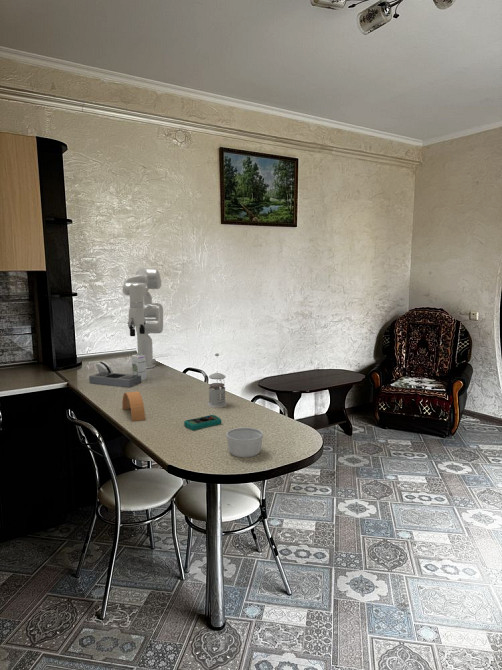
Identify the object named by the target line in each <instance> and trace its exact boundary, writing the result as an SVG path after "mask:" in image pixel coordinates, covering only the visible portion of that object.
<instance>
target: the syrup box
mask: <svg viewBox="0 0 502 670" xmlns="http://www.w3.org/2000/svg"><path fill="white" fill-rule="evenodd" d="M131 361H132V365H131V366H132V375H140V376H141V381H145V380H147V371H146V370H147V368H146V361H145V355H141V354H138V353H137V354H136V353H135V354H133V355H131Z"/></svg>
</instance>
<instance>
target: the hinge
mask: <svg viewBox="0 0 502 670" xmlns="http://www.w3.org/2000/svg"><path fill="white" fill-rule="evenodd" d="M95 365H96V369H97V371H98V373H101V372H109V373H114V371H113V369H112V367H111V365H110V364H108V362H106V361H100V362H97V364H95Z"/></svg>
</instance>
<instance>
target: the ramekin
mask: <svg viewBox="0 0 502 670" xmlns="http://www.w3.org/2000/svg"><path fill="white" fill-rule="evenodd" d="M225 437H226V441H227V449H228V451H229V453H230V454H231V455H233V456H234V457H238V458H251V457H255V456H257V455H258V454H259V453H260V452H261V450H262V444H263V438H264V433H263V431H262V430H260V429H258V428H255V427H246V426H245V427H244V426H243V427H242V426H241V427H236V428H232V429H230V430H227V432H226V434H225Z"/></svg>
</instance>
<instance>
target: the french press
mask: <svg viewBox="0 0 502 670" xmlns="http://www.w3.org/2000/svg"><path fill="white" fill-rule="evenodd" d="M214 356H215V357H219V356H220V353H215V354H214ZM208 378H209V379H211V380H219V381H220V382H213V383H210V384H209V388H208V403H207V404H206V405H207V406H208V407H211V408H223V407H226V406H227V405H228V403H227V402H226V386H225V383H224V382H223V383H222V381H225V378H226V375H224V374H223V373H219V372H215V373H212V374H209V376H208Z"/></svg>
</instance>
